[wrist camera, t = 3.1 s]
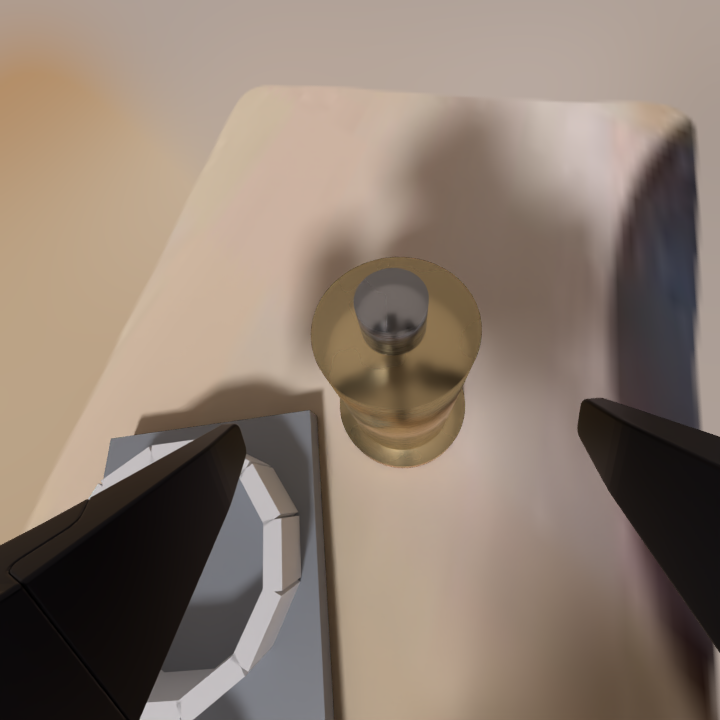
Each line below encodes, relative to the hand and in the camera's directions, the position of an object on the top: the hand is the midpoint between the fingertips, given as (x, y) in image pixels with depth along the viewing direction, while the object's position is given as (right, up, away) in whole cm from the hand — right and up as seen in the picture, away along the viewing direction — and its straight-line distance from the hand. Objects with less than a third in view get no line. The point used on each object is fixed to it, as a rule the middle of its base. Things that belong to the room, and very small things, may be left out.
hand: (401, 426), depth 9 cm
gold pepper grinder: (+1, -1, +11) cm, 11 cm away
